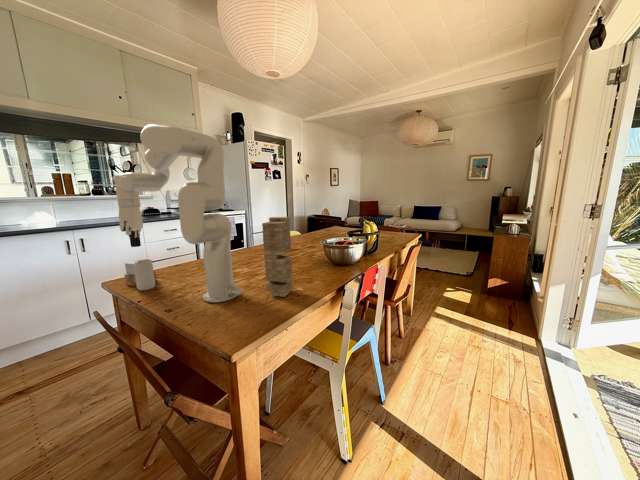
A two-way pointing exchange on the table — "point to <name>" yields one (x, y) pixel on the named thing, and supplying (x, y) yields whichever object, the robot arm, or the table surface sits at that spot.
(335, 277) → the table surface
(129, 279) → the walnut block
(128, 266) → the pale gray block
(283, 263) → the block tower
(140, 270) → the beverage can
